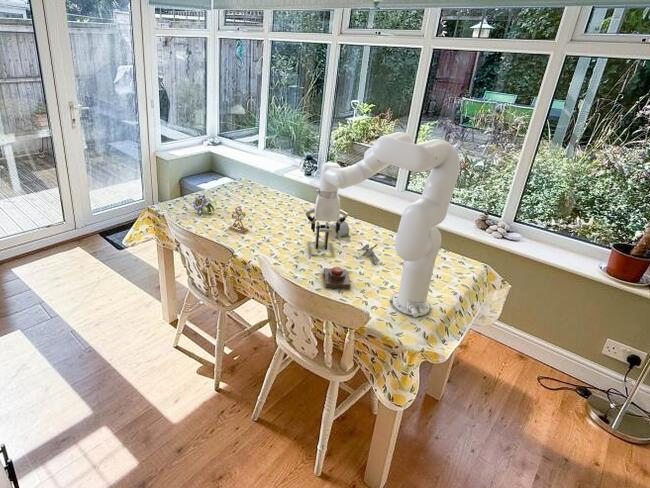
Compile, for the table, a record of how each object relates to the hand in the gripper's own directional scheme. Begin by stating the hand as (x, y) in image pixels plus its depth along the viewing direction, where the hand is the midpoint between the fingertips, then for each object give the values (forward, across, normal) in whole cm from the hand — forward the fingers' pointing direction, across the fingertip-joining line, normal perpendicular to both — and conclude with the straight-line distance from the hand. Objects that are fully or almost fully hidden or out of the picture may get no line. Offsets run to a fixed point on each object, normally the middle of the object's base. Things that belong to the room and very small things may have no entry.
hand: (325, 231), depth 172 cm
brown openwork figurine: (+14, -39, +25) cm, 49 cm away
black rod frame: (+14, 0, +9) cm, 16 cm away
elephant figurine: (+14, +21, +2) cm, 25 cm away
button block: (+14, +4, -16) cm, 21 cm away
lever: (+2, 0, +4) cm, 5 cm away
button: (+10, +4, -16) cm, 19 cm away
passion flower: (+14, -60, +45) cm, 77 cm away
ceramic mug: (+14, +10, +21) cm, 27 cm away
